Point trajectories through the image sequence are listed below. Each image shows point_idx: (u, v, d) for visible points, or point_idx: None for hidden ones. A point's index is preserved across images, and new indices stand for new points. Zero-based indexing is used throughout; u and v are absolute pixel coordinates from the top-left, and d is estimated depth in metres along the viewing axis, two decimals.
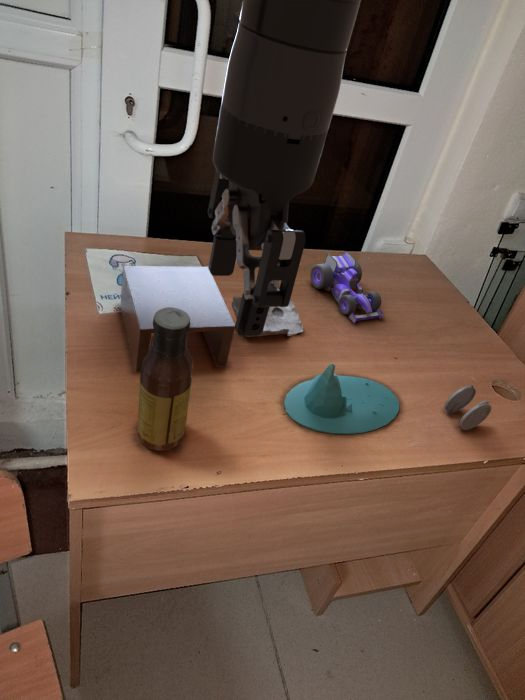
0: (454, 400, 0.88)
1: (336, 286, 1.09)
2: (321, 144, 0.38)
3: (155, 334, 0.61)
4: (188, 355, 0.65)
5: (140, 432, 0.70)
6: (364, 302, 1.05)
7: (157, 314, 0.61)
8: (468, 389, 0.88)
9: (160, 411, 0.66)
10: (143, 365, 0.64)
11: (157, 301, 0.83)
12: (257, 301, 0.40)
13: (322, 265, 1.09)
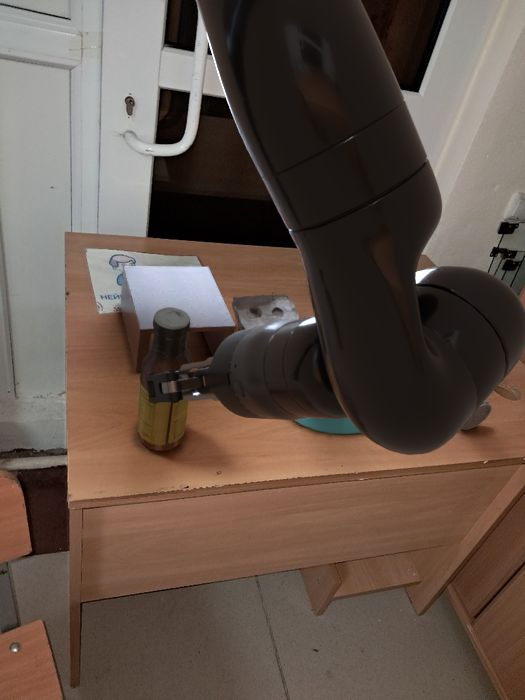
0: None
1: None
2: (244, 410, 0.43)
3: (155, 334, 0.61)
4: (188, 355, 0.65)
5: (140, 432, 0.70)
6: None
7: (157, 314, 0.61)
8: None
9: (160, 411, 0.66)
10: (143, 365, 0.64)
11: (157, 301, 0.83)
12: None
13: None
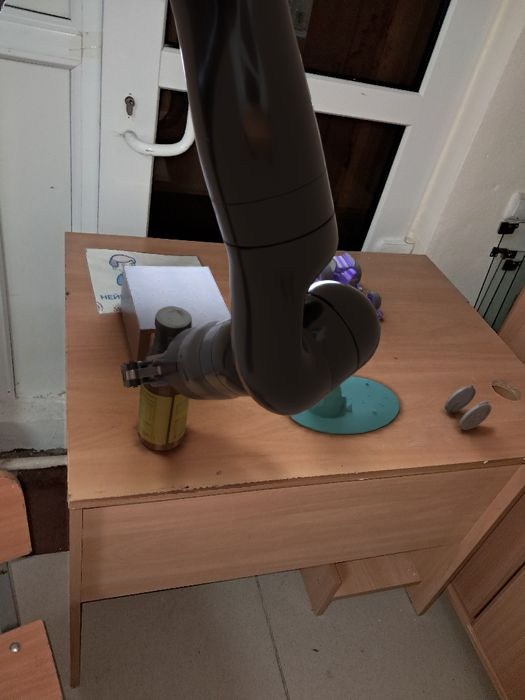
0: (454, 400, 0.88)
1: None
2: (190, 392, 0.53)
3: (157, 333, 0.62)
4: None
5: (140, 432, 0.70)
6: None
7: (159, 313, 0.61)
8: (468, 389, 0.88)
9: (161, 411, 0.66)
10: None
11: (157, 301, 0.83)
12: None
13: None
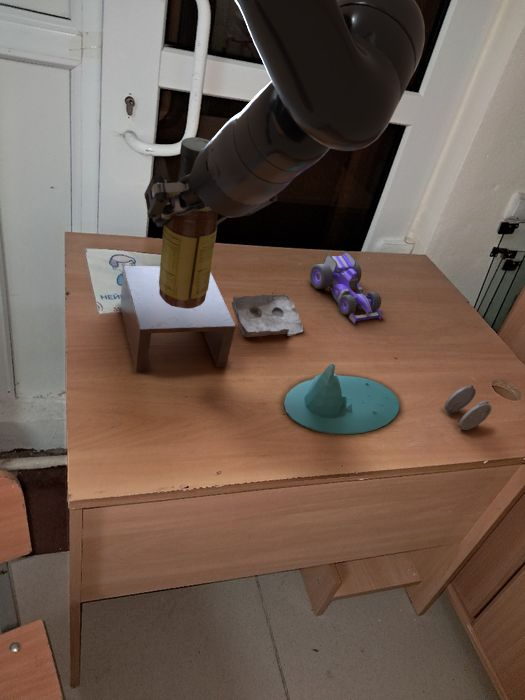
0: (454, 400, 0.88)
1: (336, 286, 1.09)
2: (220, 195, 0.51)
3: (182, 162, 0.59)
4: None
5: (162, 287, 0.68)
6: (364, 302, 1.05)
7: (185, 140, 0.59)
8: (468, 389, 0.88)
9: (185, 255, 0.64)
10: None
11: (157, 301, 0.83)
12: None
13: (322, 265, 1.09)
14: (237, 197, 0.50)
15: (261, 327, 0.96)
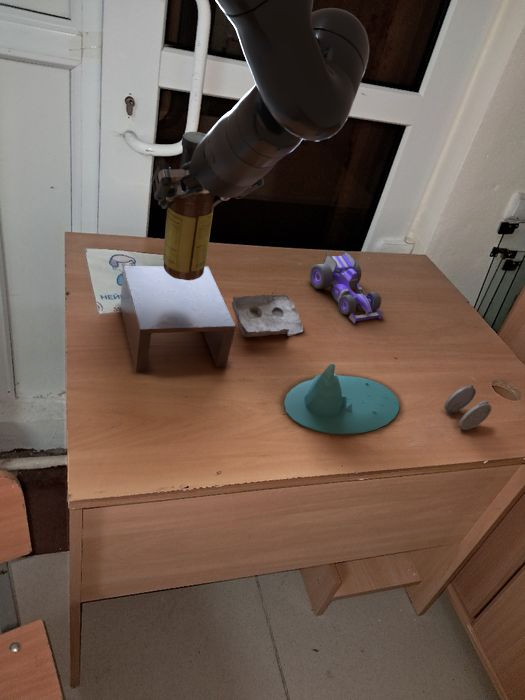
0: (454, 400, 0.88)
1: (336, 286, 1.09)
2: (215, 179, 0.62)
3: (183, 153, 0.70)
4: None
5: (166, 261, 0.79)
6: (364, 302, 1.05)
7: (185, 134, 0.70)
8: (468, 389, 0.88)
9: (186, 233, 0.75)
10: None
11: (157, 301, 0.83)
12: None
13: (321, 265, 1.09)
14: (229, 180, 0.61)
15: (261, 327, 0.96)
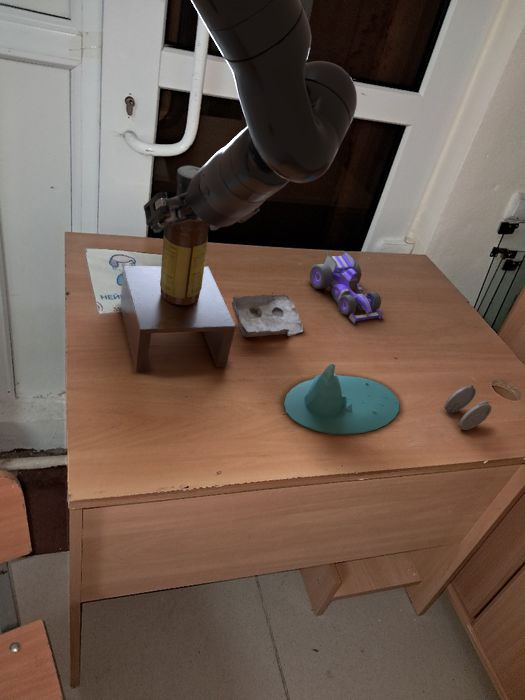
0: (454, 400, 0.88)
1: (335, 286, 1.09)
2: (210, 210, 0.64)
3: (178, 187, 0.73)
4: None
5: (163, 287, 0.82)
6: (364, 302, 1.05)
7: (180, 169, 0.72)
8: (468, 389, 0.88)
9: (181, 262, 0.78)
10: (167, 218, 0.75)
11: (157, 301, 0.83)
12: None
13: (321, 265, 1.09)
14: (223, 212, 0.63)
15: (261, 327, 0.96)
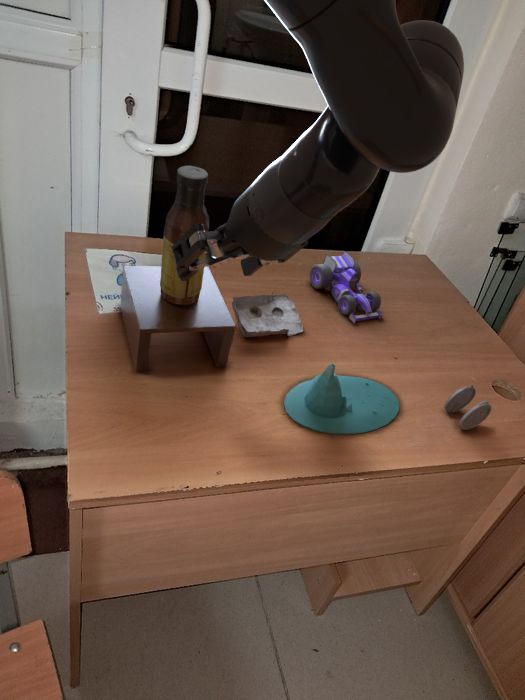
0: (454, 400, 0.88)
1: (335, 286, 1.09)
2: (263, 238, 0.52)
3: (178, 187, 0.73)
4: (205, 211, 0.76)
5: (163, 287, 0.82)
6: (364, 302, 1.05)
7: (180, 169, 0.72)
8: (468, 389, 0.88)
9: None
10: (167, 218, 0.75)
11: (157, 301, 0.83)
12: None
13: (321, 265, 1.09)
14: (280, 237, 0.51)
15: (261, 327, 0.96)
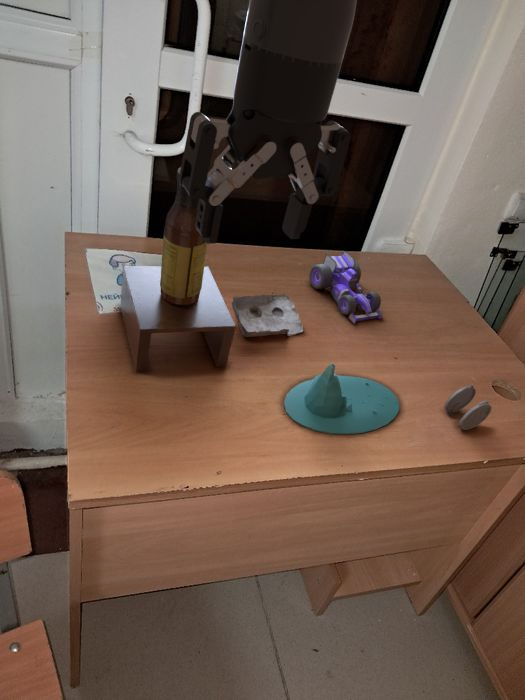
0: (454, 400, 0.88)
1: (335, 286, 1.09)
2: (276, 66, 0.39)
3: (178, 187, 0.73)
4: None
5: (163, 287, 0.82)
6: (364, 302, 1.05)
7: (180, 169, 0.72)
8: (468, 389, 0.88)
9: (181, 262, 0.78)
10: (167, 218, 0.75)
11: (157, 301, 0.83)
12: None
13: (321, 265, 1.08)
14: (297, 47, 0.38)
15: (261, 327, 0.96)
